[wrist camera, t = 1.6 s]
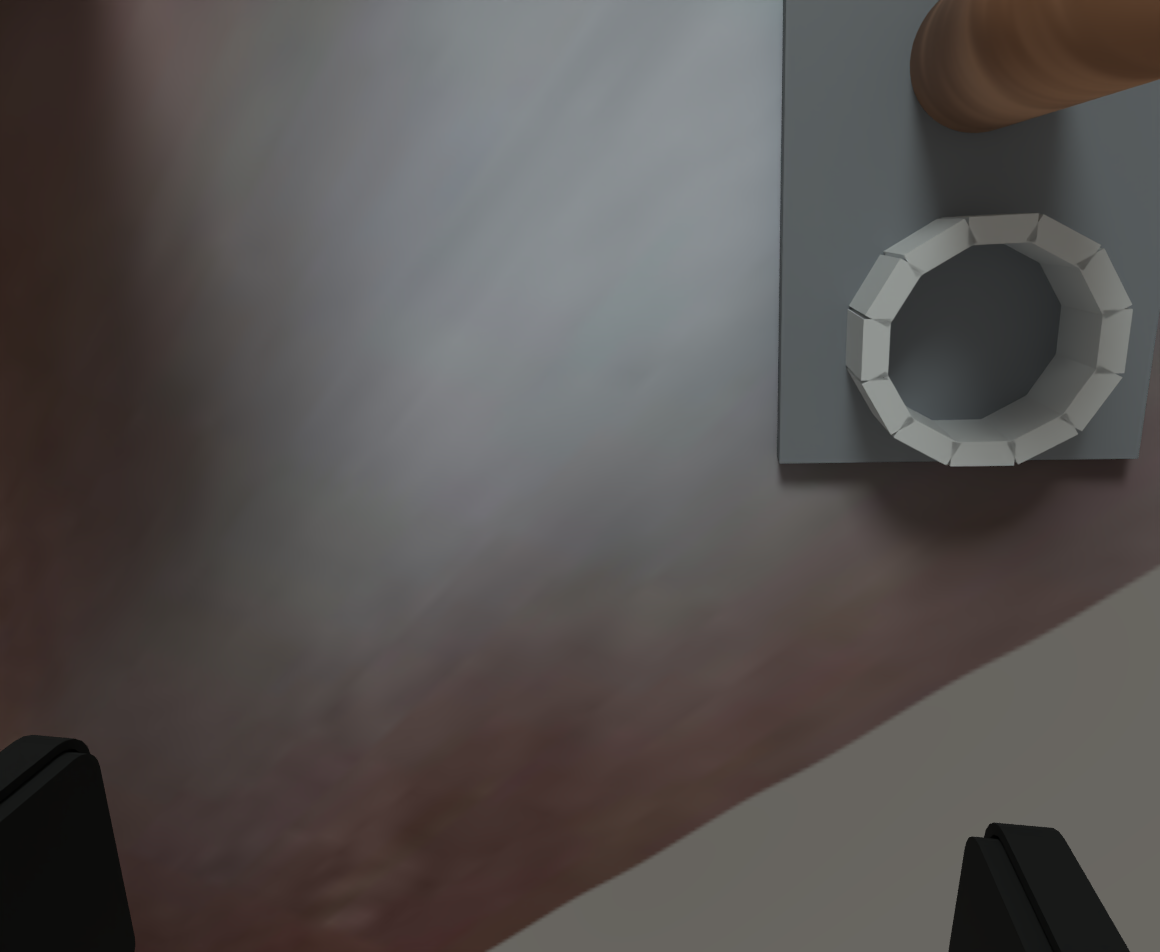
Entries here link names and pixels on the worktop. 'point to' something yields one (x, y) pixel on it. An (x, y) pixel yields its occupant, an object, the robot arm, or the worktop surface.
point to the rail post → (1029, 57)
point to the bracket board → (956, 261)
